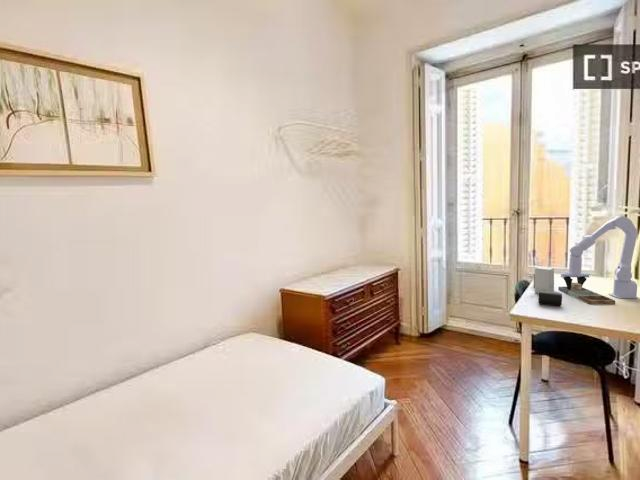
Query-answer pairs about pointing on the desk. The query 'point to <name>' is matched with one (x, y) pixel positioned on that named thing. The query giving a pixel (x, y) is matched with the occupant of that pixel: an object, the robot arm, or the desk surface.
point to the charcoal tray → (564, 289)
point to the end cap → (550, 298)
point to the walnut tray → (597, 300)
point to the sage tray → (582, 293)
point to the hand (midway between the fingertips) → (574, 289)
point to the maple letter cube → (575, 286)
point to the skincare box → (544, 279)
